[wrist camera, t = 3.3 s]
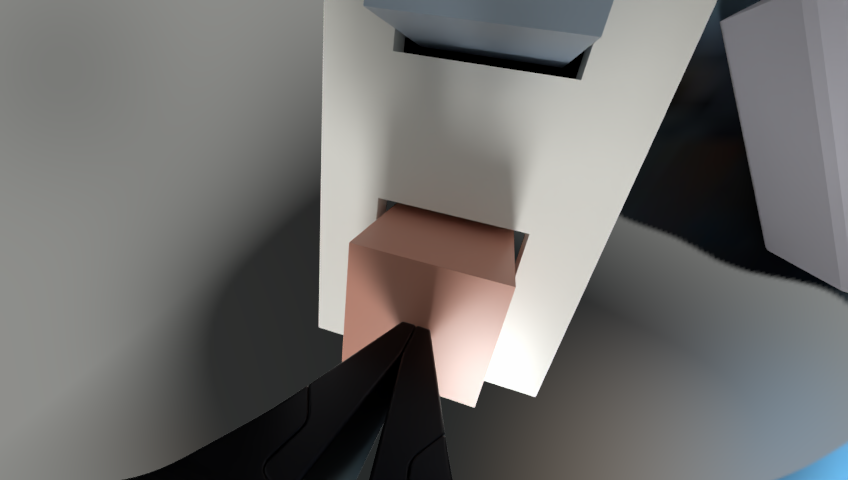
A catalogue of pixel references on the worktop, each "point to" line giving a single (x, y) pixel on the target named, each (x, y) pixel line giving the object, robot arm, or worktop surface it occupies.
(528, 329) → the key console
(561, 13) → the slate key
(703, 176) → the worktop surface
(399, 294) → the brick key
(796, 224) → the charger
